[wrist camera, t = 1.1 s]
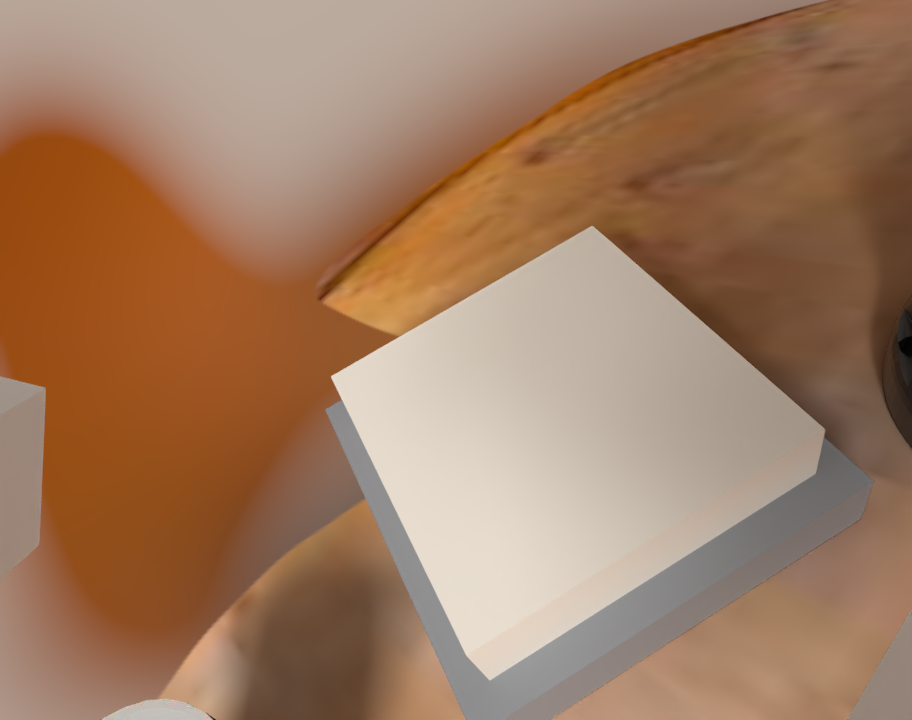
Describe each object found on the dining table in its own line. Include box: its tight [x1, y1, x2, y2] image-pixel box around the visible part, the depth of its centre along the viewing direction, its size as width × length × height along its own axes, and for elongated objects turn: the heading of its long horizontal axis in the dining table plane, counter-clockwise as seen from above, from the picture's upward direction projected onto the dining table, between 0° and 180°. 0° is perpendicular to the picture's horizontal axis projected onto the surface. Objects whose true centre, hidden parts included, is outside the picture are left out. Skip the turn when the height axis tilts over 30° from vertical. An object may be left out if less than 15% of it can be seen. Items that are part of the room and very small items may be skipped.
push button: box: [326, 226, 874, 720], centre depth 34 cm, size 19×19×7 cm
